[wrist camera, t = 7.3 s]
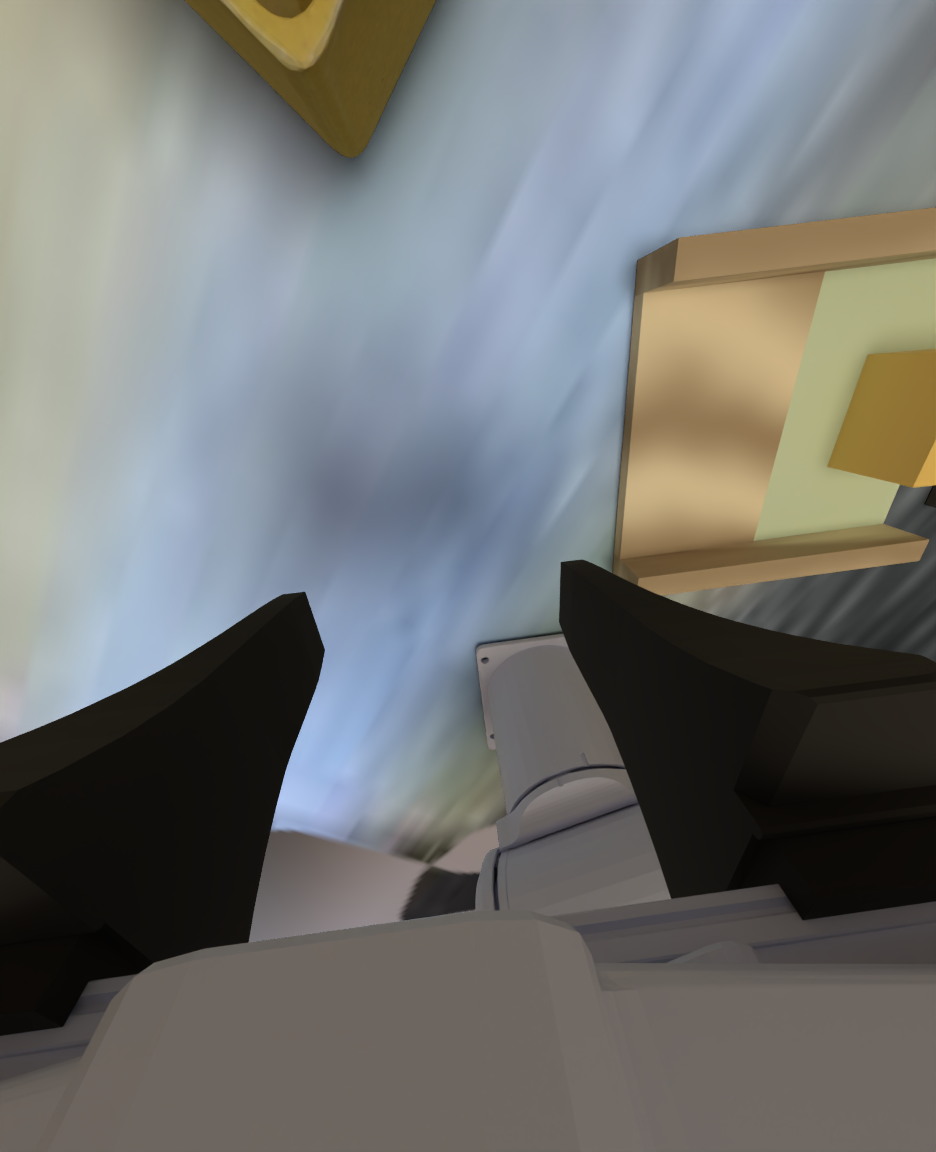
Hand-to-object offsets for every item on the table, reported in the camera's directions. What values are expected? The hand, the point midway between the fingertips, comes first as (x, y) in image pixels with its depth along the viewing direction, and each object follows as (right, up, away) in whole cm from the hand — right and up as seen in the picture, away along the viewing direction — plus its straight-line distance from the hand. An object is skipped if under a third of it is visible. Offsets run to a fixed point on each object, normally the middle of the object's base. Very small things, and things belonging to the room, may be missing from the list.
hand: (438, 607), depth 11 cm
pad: (+20, +9, +8) cm, 23 cm away
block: (+22, +9, +8) cm, 25 cm away
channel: (+16, +8, +8) cm, 20 cm away
